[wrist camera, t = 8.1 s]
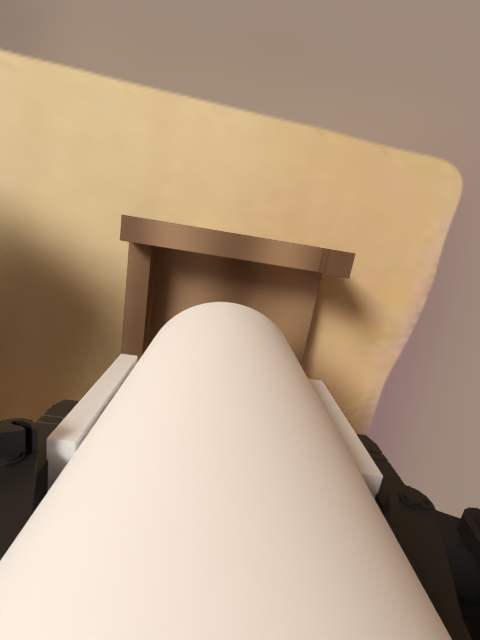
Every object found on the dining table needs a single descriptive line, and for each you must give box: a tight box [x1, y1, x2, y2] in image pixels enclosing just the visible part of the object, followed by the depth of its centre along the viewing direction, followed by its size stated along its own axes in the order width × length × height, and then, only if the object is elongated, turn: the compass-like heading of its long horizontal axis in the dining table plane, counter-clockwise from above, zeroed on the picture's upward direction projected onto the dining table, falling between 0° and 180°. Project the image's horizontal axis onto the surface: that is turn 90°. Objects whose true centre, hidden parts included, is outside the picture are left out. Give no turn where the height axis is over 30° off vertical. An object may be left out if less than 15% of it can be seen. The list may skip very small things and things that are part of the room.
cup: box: [0, 302, 452, 640], centre depth 10 cm, size 8×8×16 cm
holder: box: [120, 215, 355, 365], centre depth 24 cm, size 14×15×7 cm
